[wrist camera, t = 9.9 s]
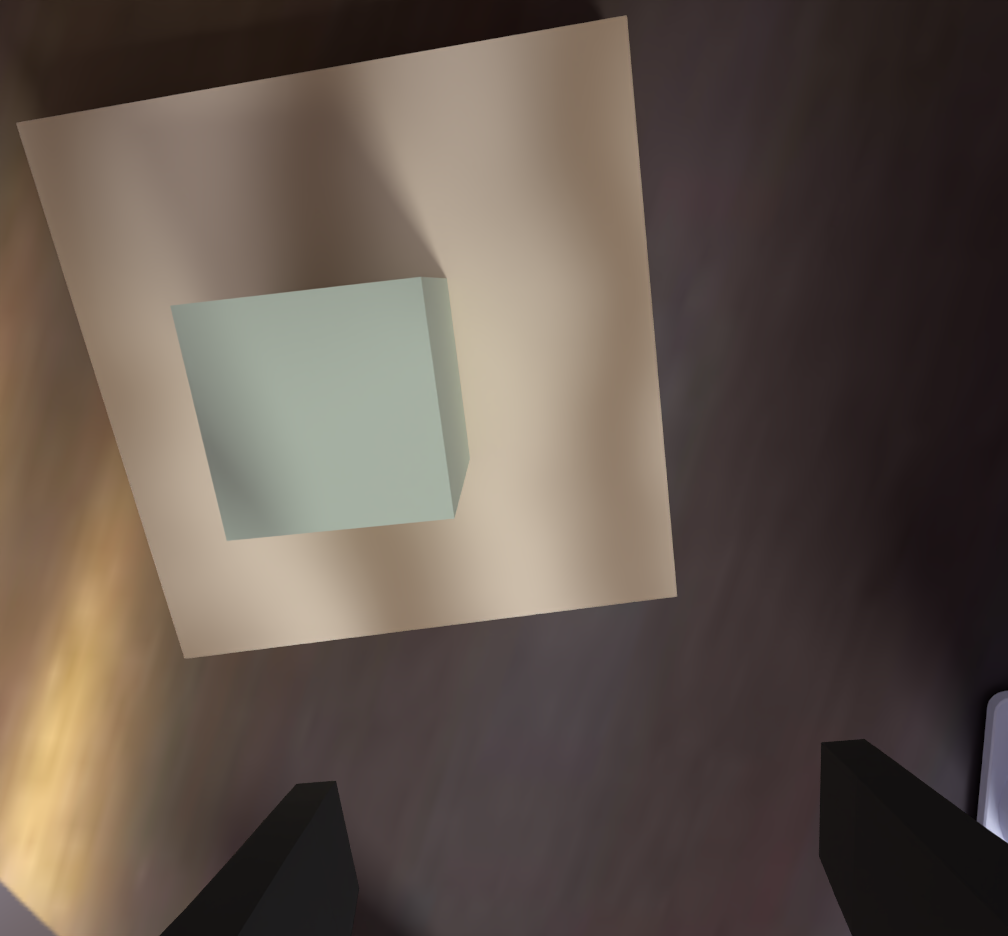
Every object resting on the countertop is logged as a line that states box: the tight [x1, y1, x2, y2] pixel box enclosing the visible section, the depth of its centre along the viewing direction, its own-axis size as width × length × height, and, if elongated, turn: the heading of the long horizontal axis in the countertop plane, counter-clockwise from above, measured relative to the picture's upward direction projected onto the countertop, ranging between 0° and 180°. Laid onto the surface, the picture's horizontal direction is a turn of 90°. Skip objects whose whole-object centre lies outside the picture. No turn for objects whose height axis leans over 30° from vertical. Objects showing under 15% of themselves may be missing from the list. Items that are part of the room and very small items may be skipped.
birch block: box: [16, 15, 677, 659], centre depth 18 cm, size 14×14×2 cm
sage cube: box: [170, 277, 470, 541], centre depth 14 cm, size 4×4×4 cm
